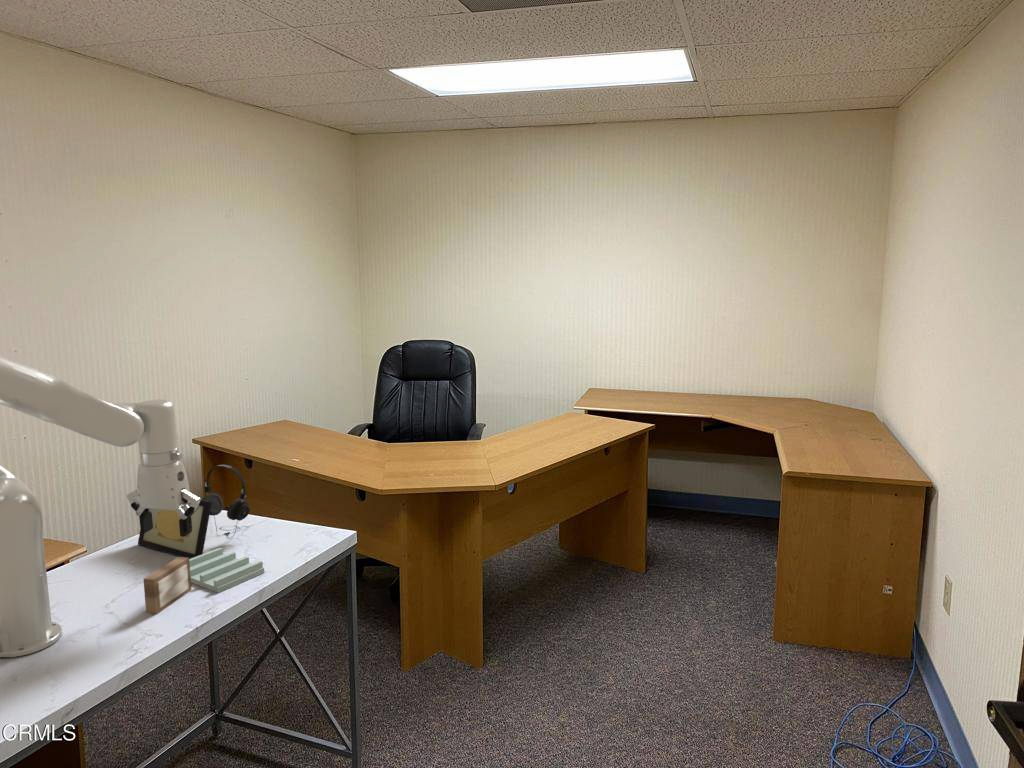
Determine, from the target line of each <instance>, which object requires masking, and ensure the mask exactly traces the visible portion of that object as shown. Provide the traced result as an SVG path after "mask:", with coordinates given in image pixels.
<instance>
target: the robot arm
mask: <svg viewBox="0 0 1024 768" xmlns="http://www.w3.org/2000/svg"><path fill="white" fill-rule="evenodd" d="M0 405H2V406H4V407H8V408H10V409H13V410H14V411H16V412H17V411H18V412H21V413H24V414H26V415H28V416H32V417H34V418H36V419H39V420H41V421H44V422H46V423H49V424H53V425H56V426H59V427H62V428H64V429H67V430H70V431H73V432H75V433H77V434H80V435H82V436H86V437H87V438H88V437H89V438H90V439H93V440H96V441H99V442H102V443H105V444H107V445H110V446H113V447H118V448H127V447H130V446H132V445H134V444H136V443H137V445H138V453H139V454H138V455H139V461H140V462H139V464H138V465H137V466H138V468H137V475H136V477H137V478H136V489H135V490H133V491H131V492H130V493H128V494H126V498H127V500H128V502H129V503H130V507H131V508H132V509H133V510H134V512H135V515H136V516H138V519H139V527H140V529H141V533H143V534H144V533H146V532H148V531H150V530H151V529H153V521H152V513H151V512H150V511H149V510H150V509H157V510H171V511H174V510H175V511H176V512H177V513H178V515H179V516H180V517H181V519H180V520H179V528H180V536H181V537H184V536H186V535H188V534H189V533H191V532H192V520H191V516H192V515H193V514H194V512H195V511H196V510H197V509H198V505H199V503H200V499H201V498H200V497H199V496H197V495H196V494H194V493H192V492H191V491H190V483H189V480H188V475H187V471H186V469H185V465H184V463H183V461H181V460H182V459H183V453H180V452H179V448H178V447H179V445H178V434H177V425H176V423H177V422H176V414H175V405H174V404H173V403H172V401H170V400H167V399H151V400H150V399H149V400H145V401H142V402H125V403H124V402H117V403H116V402H114V403H112V402H111V403H110V402H108V401H106V400H103V399H100V398H98V397H96V396H93V395H91V394H89V393H88V392H85V391H83V390H81V389H79V388H77V387H75V386H73V385H72V384H71V383H69V382H67V381H65V380H63V379H61V378H59V377H57V376H55V375H52V374H50V373H47V372H44V371H42V370H40V369H39V368H38V369H37V368H34V367H32V366H29V365H26V364H24V363H22V362H20V361H17V360H14V359H12V358H9V357H7V356H5V355H3V354H0ZM189 503H191V504H190V507H189V506H188V504H189ZM182 508H183V509H184V511H185V512H184V511H183V510H182ZM43 516H44V515H43V511H42V508H41V504H40V501H39V500H38V499H37V497H36V496H35V494H34V493H33V492H32V490H31V489H30V488H29V486H27V484H25V482H24V481H22V480H21V479H19V478H18V477H17V476H16V475H14V474H13V473H11V472H10V471H9V470H7V469H6V468H5V467H3V466H2V465H1V464H0V657H10V658H17V656H18V657H21V656H27V655H30V654H33V653H37V652H39V651H41V650H44V649H46V648H48V647H49V646H51V645H53V644H54V643H56V642H57V641H58V640H59V639H60V638H61V637H62V634H63V631H62V629H63V628H62V626H61V625H60V624H59V623H57V622H54V621H52V612H51V604H50V603H51V602H50V593H49V584H48V576H47V565H46V557H45V548H44V529H43V528H44V520H43V519H44V518H43Z"/></svg>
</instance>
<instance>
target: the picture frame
mask: <svg viewBox="0 0 1024 768" xmlns="http://www.w3.org/2000/svg"><path fill="white" fill-rule="evenodd" d="M190 504H191V503H189V504H188V506H189V507H190ZM211 504H212V501H207V500H203V498H200V503H199V505H198V509H197V510H196V511H195V512H194V514H193V515H192V516H191V520H192V532H191V533H189V534H188V535H186V536H184V537H181V536H180V528H179V520H180V519H181V517H180V516H179V515H178V513H177V512H176V511H175V510H174V511H171V510H157V509H150V510H149V511H150V512H151V513H152V521H153V529H151V530H150V531H148V532H146V533H144V534H143V533H141V529H140V530H139V536H138V541H137V545H138V546H142V547H146V548H149V549H153V550H155V551H160V552H162V553H167V554H170V555H174V556H178V557H187V558H189V559H191V558H194V557H197V556H199V555H202V554H204V551H205V550H204V549H205V543H206V537H207V533H208V532H207V531H208V526H209V520H210V516H211V515H210V510H211ZM182 510H183V511H184V509H183V508H182ZM184 512H185V511H184Z"/></svg>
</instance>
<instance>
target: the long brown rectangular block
mask: <svg viewBox="0 0 1024 768" xmlns="http://www.w3.org/2000/svg"><path fill="white" fill-rule="evenodd" d="M142 579H143V589H144V590H143V593H144V601H145V602H144V603H145V613H146V614H147V613H148V614H149V615H155V614H156V615H158V614H159V613H161V612H162V611H164V610H165V609H167V608H168V607H169V606H171V605H173V604H174V603H175V602H176V601H178V600H180V599H181V598H183V597H185V595H187V594H188V593H190V592H191V591H192V583H191V577H190V562H189V558H187V557H180V556H178V557H177V558H175V559H173V560H172V561H170V562H168V563H167V564H165V565H163V566H161V567H160V568H158V569H157V570H155V571H154V572H152V573H151V574H149V575H147V576H145V577H144V578H142Z"/></svg>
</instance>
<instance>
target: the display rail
mask: <svg viewBox="0 0 1024 768" xmlns="http://www.w3.org/2000/svg"><path fill="white" fill-rule="evenodd" d="M223 549H224V548H223V547H219V548H216V549H213V550H210V551H207V552H205V553H203V554H202V555H199V556H197V557H194V558H191V559H189V562H190V577H191V584H195V585H197V586H200V587H202V588H205V589H207V590H210V591H213V592H215V593H218V594H219V593H221V592H223V591H226V590H228V589H231V588H232V587H235V586H238V585H239V584H242V583H244V582H246V581H248V580H251V579H253V578H255V577H258V576H260V575H262V574H264V573H265V567H264V565H263V561H261V560H257V561H255V562H253V563H250V557H249V556H244V557H241V558H239V559H238V558H237V555H236V552H235V551H231V552H229V553H226V554H224V550H223Z"/></svg>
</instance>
